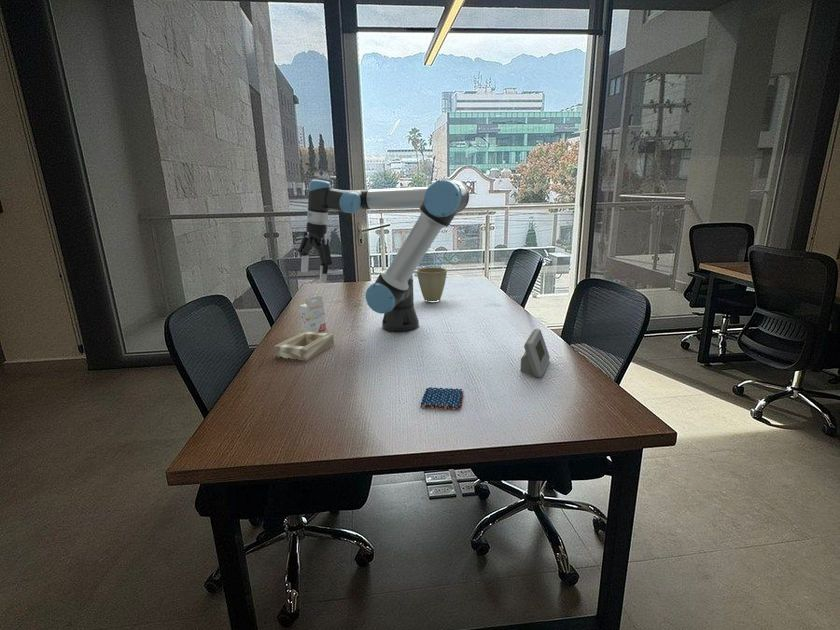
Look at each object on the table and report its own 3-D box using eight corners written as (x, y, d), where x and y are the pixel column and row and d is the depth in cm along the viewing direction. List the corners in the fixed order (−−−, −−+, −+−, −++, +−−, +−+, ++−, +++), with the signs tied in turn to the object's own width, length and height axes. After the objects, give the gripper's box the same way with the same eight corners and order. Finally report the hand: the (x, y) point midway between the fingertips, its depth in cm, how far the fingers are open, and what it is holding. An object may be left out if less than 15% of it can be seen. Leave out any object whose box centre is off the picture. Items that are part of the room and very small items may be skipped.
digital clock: (540, 380, 125) (541, 346, 122) (511, 373, 130) (511, 340, 127) (558, 362, 138) (560, 330, 135) (531, 356, 143) (532, 326, 140)
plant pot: (437, 306, 208) (437, 273, 204) (412, 302, 216) (410, 271, 211) (452, 299, 220) (452, 268, 215) (428, 296, 228) (427, 266, 223)
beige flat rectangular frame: (334, 344, 161) (333, 334, 160) (307, 360, 146) (305, 349, 145) (304, 341, 165) (303, 331, 164) (275, 356, 150) (274, 346, 149)
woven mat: (461, 413, 109) (461, 405, 109) (420, 410, 111) (419, 403, 111) (464, 394, 119) (464, 387, 119) (426, 392, 121) (426, 385, 121)
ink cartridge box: (318, 327, 182) (315, 293, 178) (326, 329, 179) (323, 294, 175) (302, 333, 175) (298, 297, 171) (310, 335, 172) (306, 299, 168)
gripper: (291, 215, 169) (288, 268, 176) (326, 229, 153) (322, 286, 160) (308, 216, 174) (305, 267, 181) (344, 229, 158) (339, 284, 165)
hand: (313, 276), depth 171 cm, fingers open, 13 cm apart
